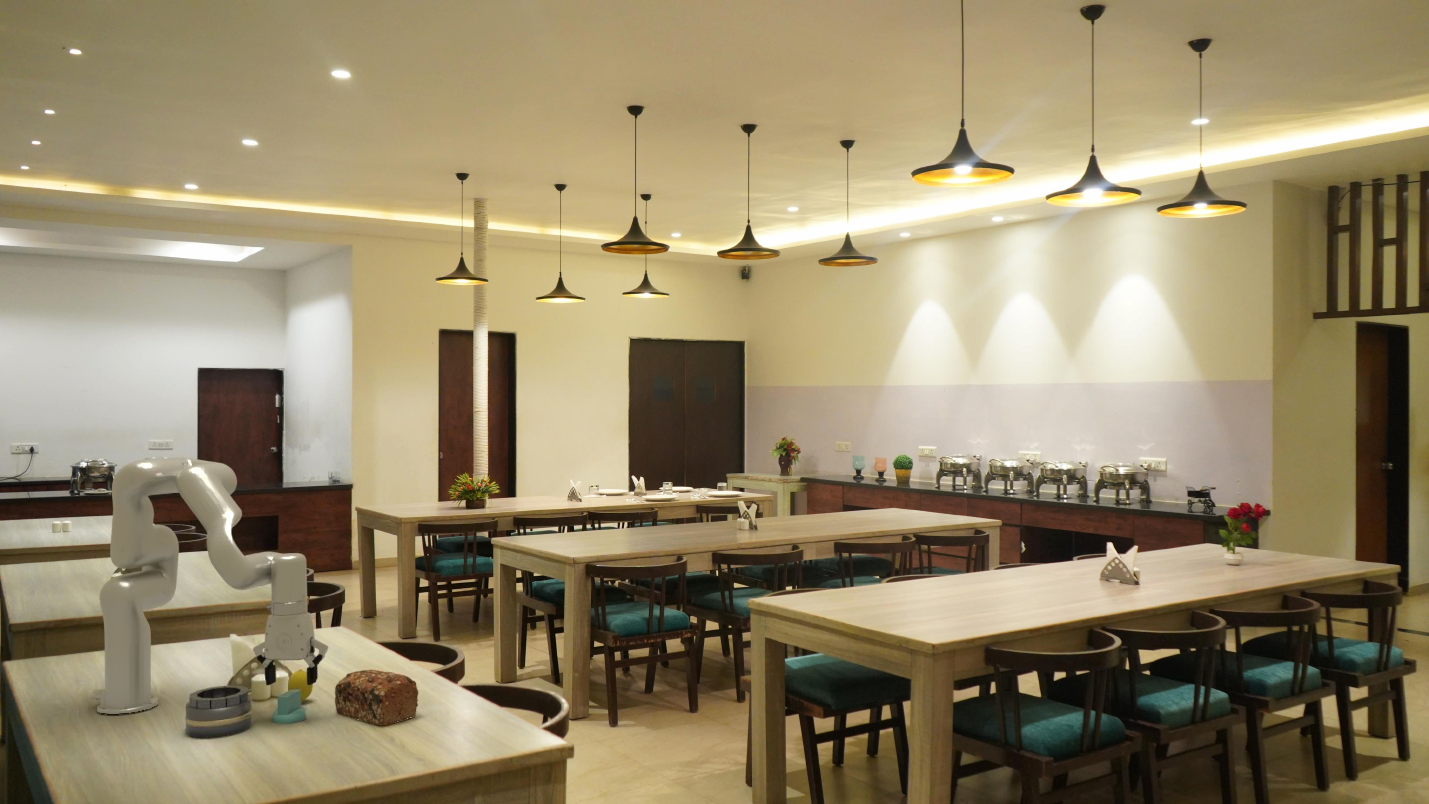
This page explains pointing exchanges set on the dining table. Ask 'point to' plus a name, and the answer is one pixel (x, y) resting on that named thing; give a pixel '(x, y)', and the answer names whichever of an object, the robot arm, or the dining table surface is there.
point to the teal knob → (289, 708)
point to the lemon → (300, 684)
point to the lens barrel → (218, 712)
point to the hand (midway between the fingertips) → (291, 683)
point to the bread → (376, 697)
